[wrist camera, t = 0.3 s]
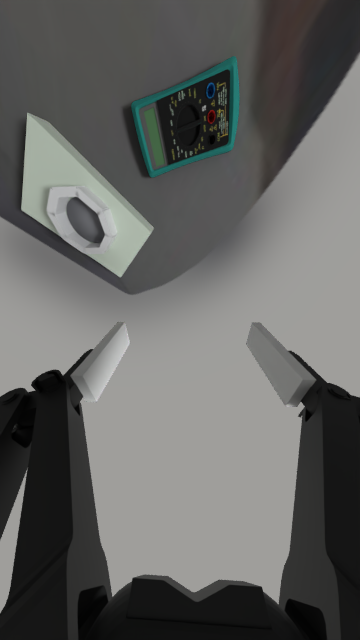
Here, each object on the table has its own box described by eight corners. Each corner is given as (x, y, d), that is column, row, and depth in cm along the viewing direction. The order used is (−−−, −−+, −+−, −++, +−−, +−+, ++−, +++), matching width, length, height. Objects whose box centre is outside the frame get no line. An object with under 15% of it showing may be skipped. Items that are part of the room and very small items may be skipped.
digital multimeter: (233, 150, 23) (238, 147, 21) (151, 178, 25) (148, 178, 23) (236, 63, 18) (243, 47, 16) (133, 109, 20) (127, 101, 18)
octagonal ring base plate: (48, 121, 21) (6, 103, 16) (154, 228, 30) (148, 237, 26) (37, 207, 28) (6, 212, 23) (125, 270, 38) (116, 283, 33)
